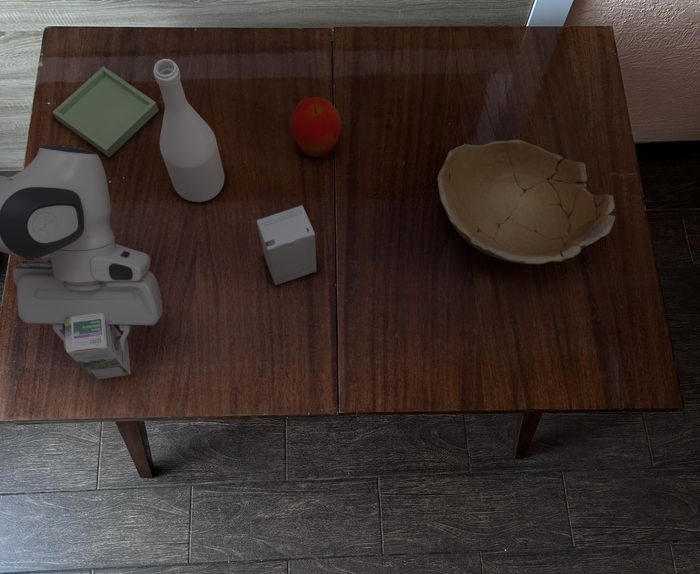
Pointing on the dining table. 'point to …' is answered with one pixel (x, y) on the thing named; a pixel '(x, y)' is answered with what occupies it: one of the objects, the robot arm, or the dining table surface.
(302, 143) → the apple
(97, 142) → the tray
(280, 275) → the cosmetic box
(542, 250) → the ceramic bowl
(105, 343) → the syrup box
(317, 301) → the dining table surface
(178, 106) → the wine bottle
